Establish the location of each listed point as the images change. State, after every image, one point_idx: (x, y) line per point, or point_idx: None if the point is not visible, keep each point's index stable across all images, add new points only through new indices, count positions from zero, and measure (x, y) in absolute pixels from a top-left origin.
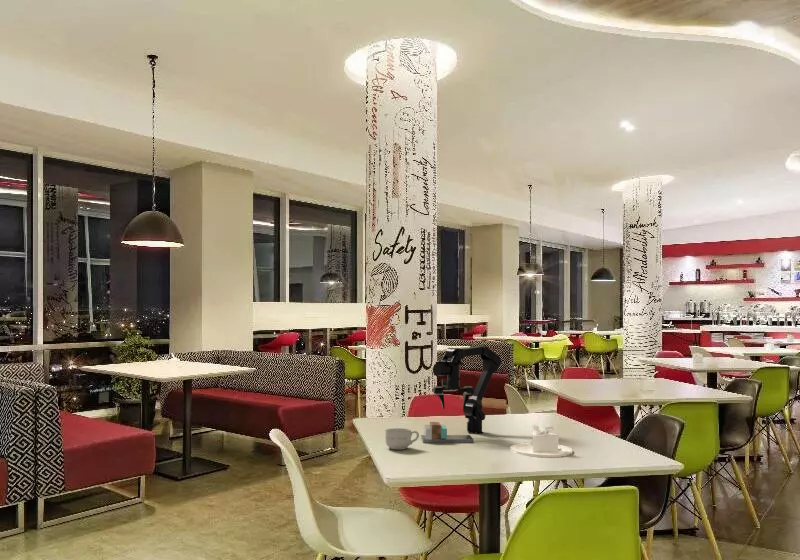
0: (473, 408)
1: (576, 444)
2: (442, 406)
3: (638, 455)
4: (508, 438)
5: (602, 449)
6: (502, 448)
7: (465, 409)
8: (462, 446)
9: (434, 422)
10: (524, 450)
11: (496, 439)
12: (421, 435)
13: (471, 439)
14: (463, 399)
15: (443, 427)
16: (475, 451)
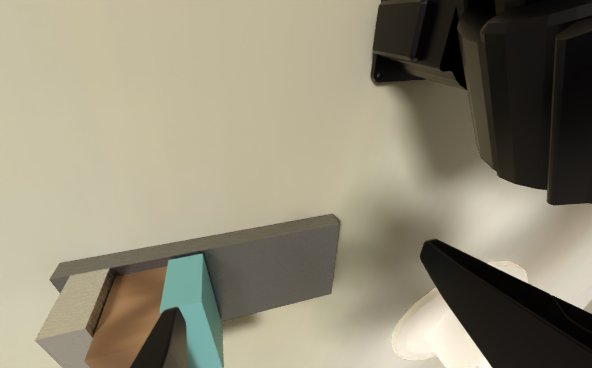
0: (546, 186)
1: (579, 237)
2: (149, 355)
3: (578, 296)
4: (480, 189)
5: (575, 271)
6: (384, 319)
7: (499, 90)
8: (276, 332)
9: (130, 364)
10: (421, 329)
11: (429, 214)
12: (57, 287)
13: (323, 294)
14: (551, 356)
15: (203, 360)
16: (304, 362)
